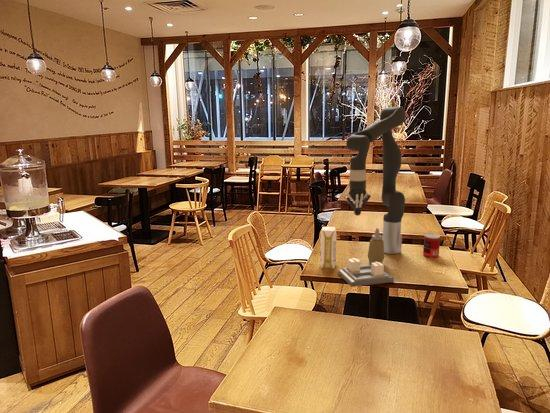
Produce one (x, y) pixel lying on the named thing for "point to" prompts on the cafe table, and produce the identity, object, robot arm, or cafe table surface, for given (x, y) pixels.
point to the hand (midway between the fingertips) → (357, 215)
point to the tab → (377, 269)
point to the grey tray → (364, 276)
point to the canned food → (431, 245)
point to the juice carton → (328, 247)
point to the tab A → (353, 265)
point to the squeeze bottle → (376, 248)
